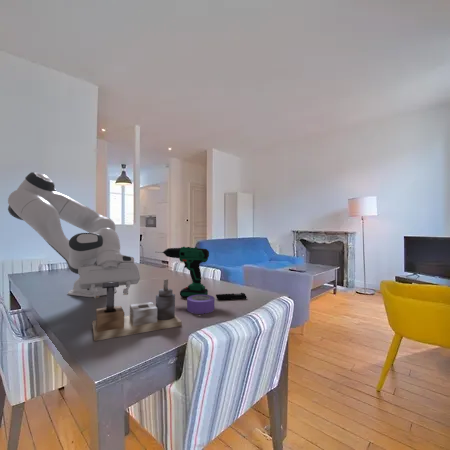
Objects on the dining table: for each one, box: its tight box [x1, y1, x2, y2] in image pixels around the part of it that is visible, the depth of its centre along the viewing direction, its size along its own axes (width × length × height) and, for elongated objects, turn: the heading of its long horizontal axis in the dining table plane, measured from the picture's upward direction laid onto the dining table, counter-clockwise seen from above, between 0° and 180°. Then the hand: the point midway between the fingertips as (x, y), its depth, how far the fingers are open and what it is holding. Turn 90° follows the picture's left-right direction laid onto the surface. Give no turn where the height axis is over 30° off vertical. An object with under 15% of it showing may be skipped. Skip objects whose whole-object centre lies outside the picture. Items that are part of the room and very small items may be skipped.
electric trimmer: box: [215, 292, 248, 301], centre depth 129 cm, size 4×16×3 cm, turn 104°
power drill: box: [156, 246, 210, 299], centre depth 131 cm, size 6×29×25 cm, turn 79°
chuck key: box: [102, 282, 120, 313], centre depth 89 cm, size 5×3×13 cm, turn 118°
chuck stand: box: [92, 278, 183, 342], centre depth 93 cm, size 28×14×16 cm, turn 119°
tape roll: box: [186, 294, 216, 315], centre depth 112 cm, size 12×12×5 cm
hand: (111, 295), depth 91 cm, fingers open, 8 cm apart
